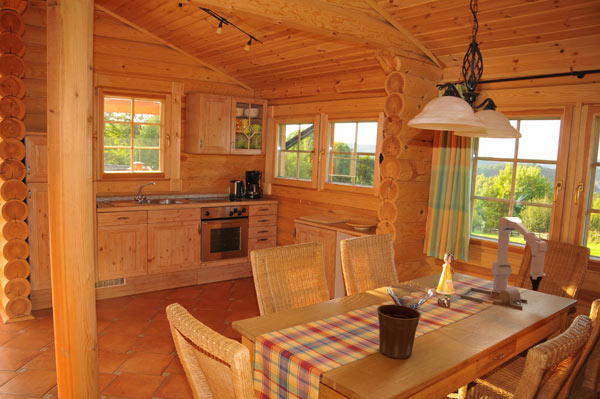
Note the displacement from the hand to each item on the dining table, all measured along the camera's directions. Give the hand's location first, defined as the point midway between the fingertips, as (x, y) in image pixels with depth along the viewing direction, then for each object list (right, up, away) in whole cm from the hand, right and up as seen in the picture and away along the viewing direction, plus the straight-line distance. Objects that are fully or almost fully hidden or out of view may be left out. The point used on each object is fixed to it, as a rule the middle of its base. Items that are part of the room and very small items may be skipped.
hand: (534, 290), depth 230 cm
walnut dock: (-9, -8, +7) cm, 14 cm away
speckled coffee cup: (-9, -9, +7) cm, 14 cm away
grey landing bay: (-23, -7, +17) cm, 30 cm away
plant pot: (-84, -12, -59) cm, 104 cm away
